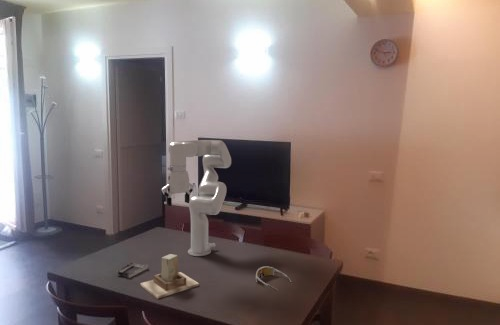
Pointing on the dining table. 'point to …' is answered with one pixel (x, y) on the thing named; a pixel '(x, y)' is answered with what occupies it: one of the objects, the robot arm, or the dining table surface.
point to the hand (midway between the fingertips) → (178, 204)
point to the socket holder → (168, 285)
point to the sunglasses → (267, 273)
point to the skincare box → (169, 267)
